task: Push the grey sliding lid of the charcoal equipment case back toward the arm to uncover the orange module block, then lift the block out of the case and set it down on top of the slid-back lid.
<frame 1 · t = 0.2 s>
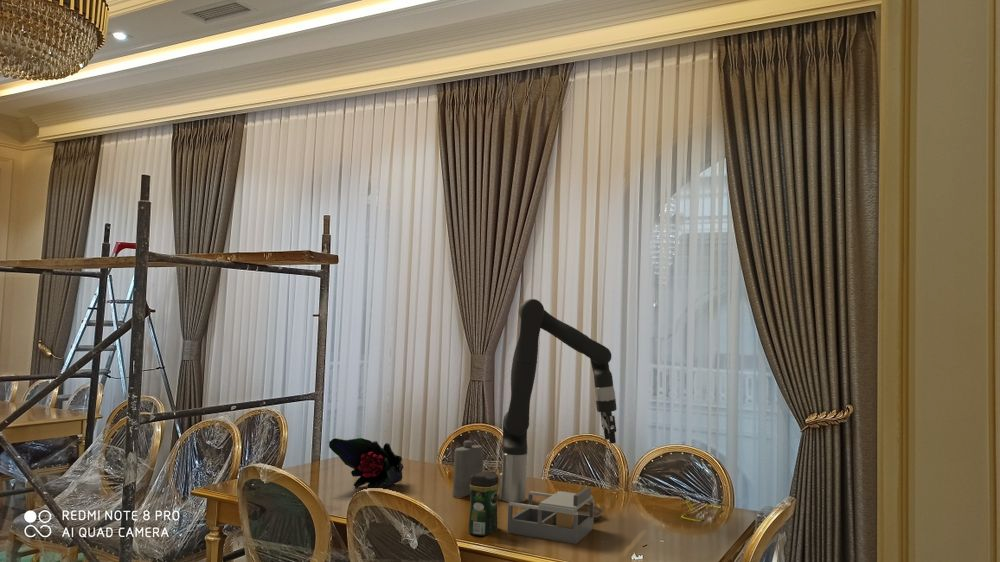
hand: (610, 441, 263), 22 cm above the table, tool pointing down, fingers open, 8 cm apart
coffee jar: (482, 533, 215), on the table
case: (551, 533, 217), on the table
flask: (466, 494, 266), on the table
module: (566, 532, 215), point 1 cm above the table, touching case
decorative plant: (372, 489, 269), on the table
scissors: (699, 515, 248), on the table
lid: (566, 496, 216), point 12 cm above the table, slide at 0.0 cm
plant saucer: (572, 519, 237), on the table
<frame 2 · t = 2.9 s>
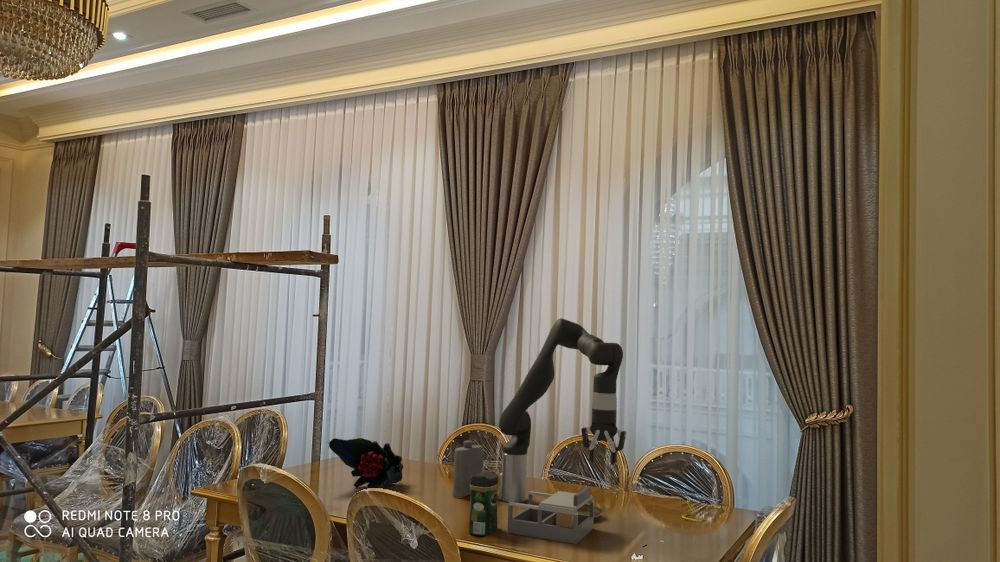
hand: (602, 463, 212), 24 cm above the table, tool pointing down, fingers open, 5 cm apart
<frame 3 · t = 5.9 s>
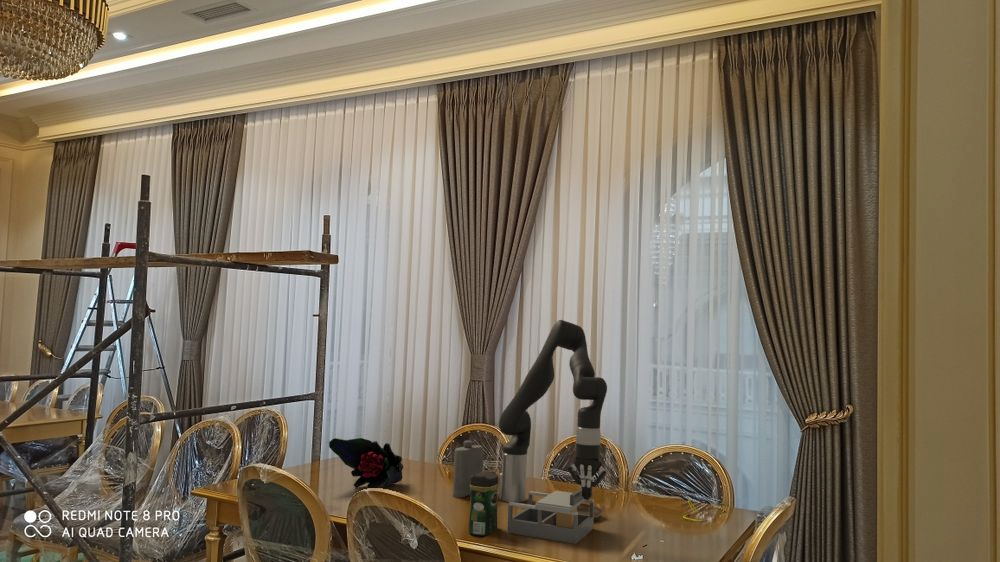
hand: (586, 499, 213), 12 cm above the table, tool pointing down, fingers closed
lid: (563, 496, 216), point 12 cm above the table, slide at 1.1 cm, touching gripper
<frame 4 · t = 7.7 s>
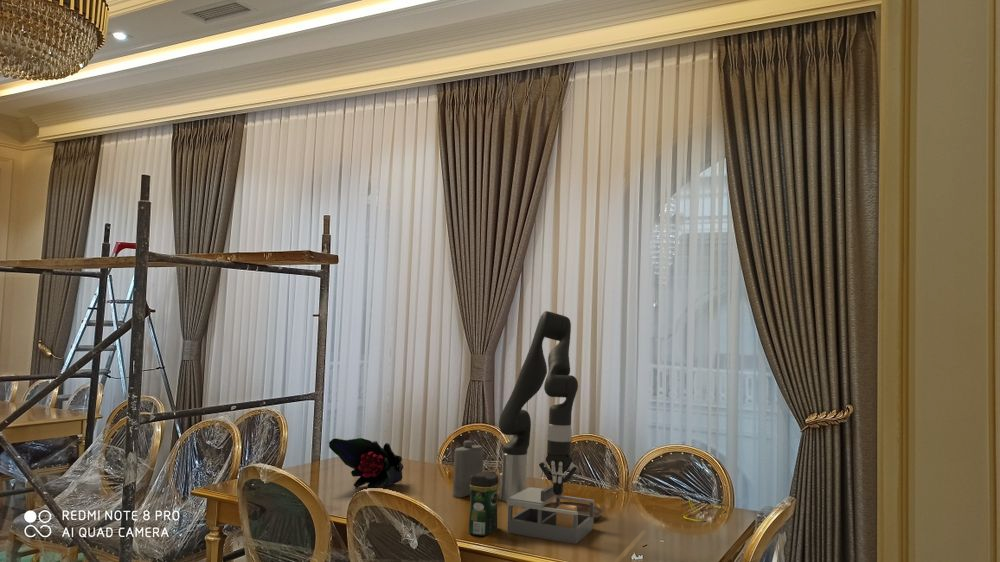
hand: (557, 494, 217), 12 cm above the table, tool pointing down, fingers closed
lid: (535, 492, 220), point 12 cm above the table, slide at 10.5 cm, touching gripper
everything else where it was.
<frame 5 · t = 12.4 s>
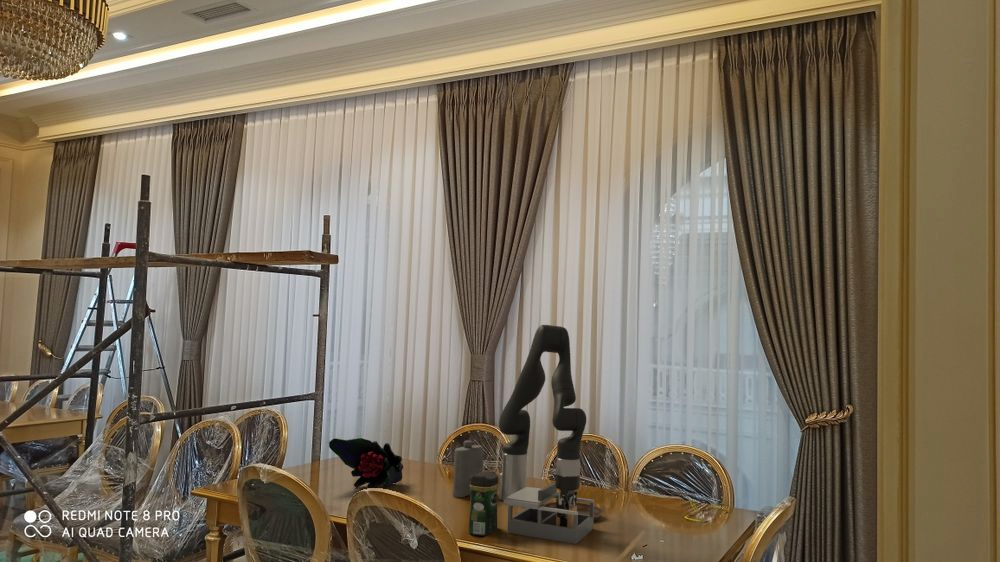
hand: (566, 528, 215), 2 cm above the table, tool pointing down, fingers closed on module, 5 cm apart
module: (566, 532, 215), point 1 cm above the table, touching case, gripper
lid: (532, 492, 220), point 12 cm above the table, slide at 11.3 cm
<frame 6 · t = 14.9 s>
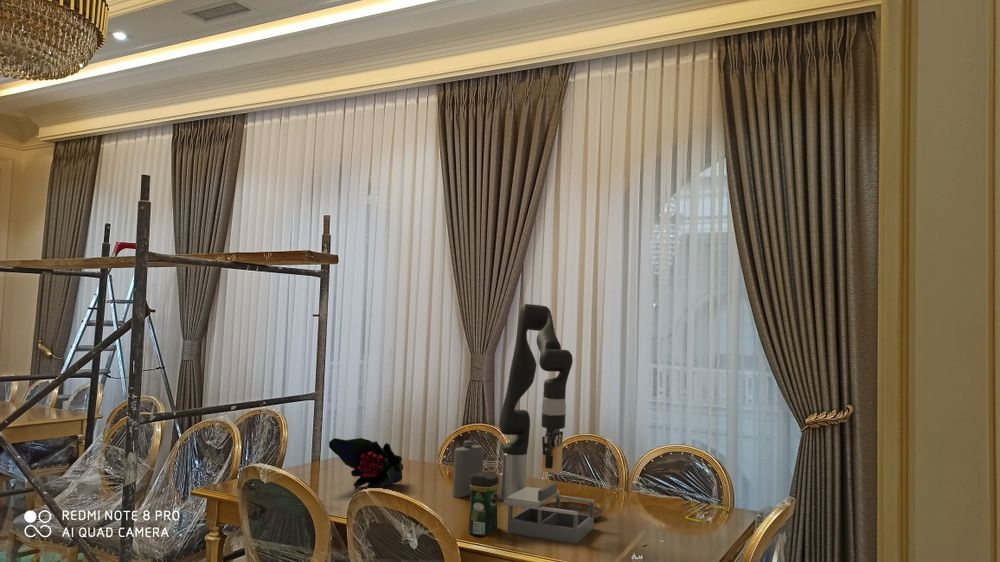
hand: (551, 466, 219), 21 cm above the table, tool pointing down, fingers closed on module, 5 cm apart
module: (551, 470, 219), point 19 cm above the table, touching gripper
when the fingers open (14 cm above the table, at t = 17.1 s): module drops 1 cm, resting on lid.
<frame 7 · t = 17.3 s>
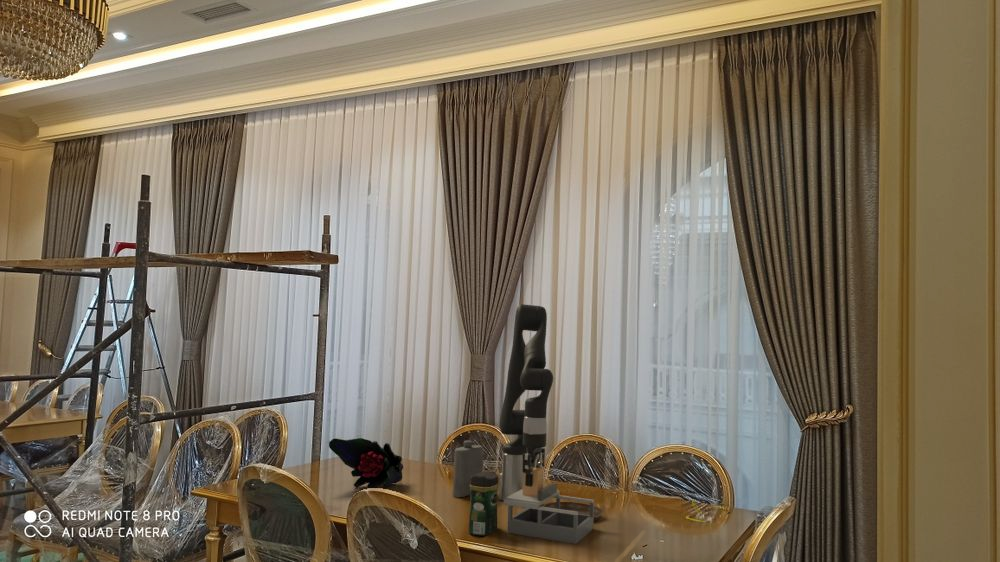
hand: (533, 483, 221), 15 cm above the table, tool pointing down, fingers open, 7 cm apart
module: (532, 494, 220), point 11 cm above the table, touching lid
lid: (532, 492, 220), point 12 cm above the table, slide at 11.3 cm, touching module
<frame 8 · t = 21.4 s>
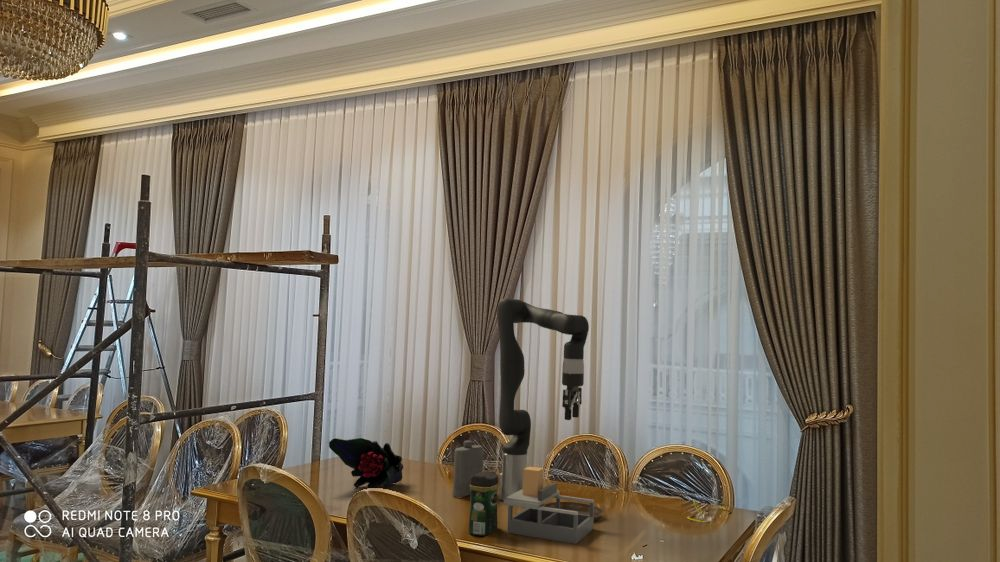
hand: (571, 418, 242), 33 cm above the table, tool pointing down, fingers open, 8 cm apart
at the end: lid slide at 11.3 cm; module inside the target area (0.1 cm from its centre), point 11.3 cm above the table; module tilted 0° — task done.
